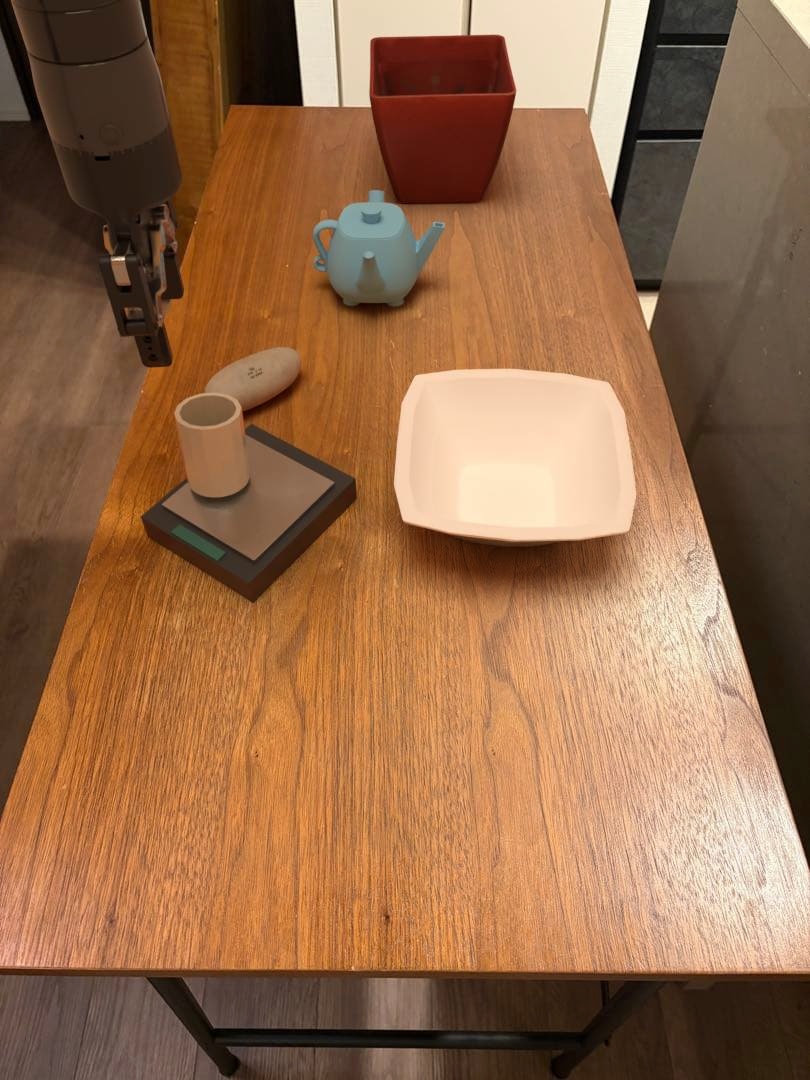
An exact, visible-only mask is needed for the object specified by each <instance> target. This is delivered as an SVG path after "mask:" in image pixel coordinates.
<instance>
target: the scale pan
mask: <svg viewBox="0 0 810 1080" xmlns="http://www.w3.org/2000/svg"><path fill="white" fill-rule="evenodd" d="M245 438H246V446H247V453H248V461H249V469H250V471H249V474H250V478H249V481H248V483H247V484H246V486H245V487H244V488H243V489H241V490H240V491H238V492H236V493H234V494H232V495H229V496H225V497H205V496H202V495H199V494H197V493H195V492H194V491H193V490H192V489H191V488H190V487H189V484H188V482H187V483H186V484H185V485H184V486H183V487H181V488H180V489H179V490H178V491H177V492H175V493H174V494H173V495H172V496H171V497H170V498H168V499H167V500H166V501H165V502H164V503H162V508H163V509H165V510H167V511H168V512H170V513H172V514H173V515H175V516H176V517H178V518H180V519H181V520H183V521H185V522H186V523H188V524H190V525H191V526H193V527H195V528H196V529H198V530H200V531H201V532H203V533H205V534H206V535H208V536H209V537H211V538H213V539H214V540H216V541H218V542H219V543H221V544H223V545H224V546H226V547H228V548H229V549H231V550H233V551H234V552H236V553H238V554H239V555H241V556H242V557H244V558H246V559H247V560H249V561H251V562H252V563H254V564H255V563H256V562H258V561H259V560H260V559H261V558H262V557H263V556H264V555H265V554H266V553H267V552H268V551H269V550H270V549H271V548H272V547H273V546H274V545H275V544H276V543H277V542H278V541H279V540H280V539H281V538H282V537H283V536H284V535H285V534H286V533H287V532H288V531H289V530H290V529H291V528H293V527H294V526H295V525H296V524H297V523H298V522H299V521H300V520H301V519H302V518H303V517H304V516H305V515H306V514H307V513H308V512H309V511H310V510H311V509H312V508H313V507H314V506H315V505H316V504H317V503H318V502H319V501H320V500H321V499H322V498H323V497H324V496H325V495H326V494H328V493H329V492H330V491H331V490H332V489H333V488H334V487H335V482H333V481H332V480H330V479H328V478H326V477H324V476H322V475H320V474H318V473H317V472H315V471H313V470H311V469H309V468H307V467H305V466H304V465H302V464H300V463H298V462H296V461H294V460H292V459H290V458H289V457H287V456H285V455H283V454H281V453H279V452H277V451H275V450H274V449H272V448H270V447H268V446H266V445H264V444H262V443H260V442H259V441H257V440H255V439H253V438H251V437H249V436H247V435H245Z"/></svg>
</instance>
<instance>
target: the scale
mask: <svg viewBox="0 0 810 1080" xmlns="http://www.w3.org/2000/svg"><path fill="white" fill-rule="evenodd" d="M244 430H245V435H247V436H249V437H251V438H253V439H255V440H257V441H259V442H260V443H262V444H264V445H266V446H268V447H270V448H272V449H274V450H275V451H277V452H279V453H281V454H283V455H285V456H287V457H289V458H290V459H292V460H294V461H296V462H298V463H300V464H302V465H304V466H305V467H307V468H309V469H311V470H313V471H315V472H317V473H318V474H320V475H322V476H324V477H326V478H328V479H330V480H332V481H333V482H335V487H334V488H333V489H332V490H331V491H330V492H329V493H328V494H326V495H325V496H324V497H323V498H322V499H321V500H320V501H319V502H318V503H317V504H316V505H315V506H314V507H313V508H312V509H311V510H310V511H309V512H308V513H307V514H306V515H305V516H304V517H303V518H302V519H301V520H300V521H299V522H298V523H297V524H296V525H295V526H294V527H293V528H291V529H290V530H289V531H288V532H287V533H286V534H285V535H284V536H283V537H282V538H281V539H280V540H279V541H278V542H277V543H276V544H275V545H274V546H273V547H272V548H271V549H270V550H269V551H268V552H267V553H266V554H265V555H264V556H263V557H262V558H261V559H260V560H259V561H258V562H256V563H255V564H254V563H252V562H251V561H249V560H247V559H246V558H244V557H242V556H241V555H239V554H238V553H236V552H234V551H233V550H231V549H229V548H228V547H226V546H224V545H223V544H221V543H219V542H218V541H216V540H214V539H213V538H211V537H209V536H208V535H206V534H205V533H203V532H201V531H200V530H198V529H196V528H195V527H193V526H191V525H190V524H188V523H186V522H185V521H183V520H181V519H180V518H178V517H176V516H175V515H173V514H172V513H170V512H168V511H167V510H165V509H163V508H162V503H164V502H165V501H166V500H167V499H168V498H170V497H171V496H172V495H173V494H174V493H175V492H177V491H178V490H179V489H180V488H181V487H183V486H184V485H185V484H186V483H187V482H188V480H187V477H186V478H184V480H182V481H181V482H180V483H179V484H178V485H176V486H175V487H174V488H172V490H170V491H169V492H168V493H167V494H165V495H164V496H163V497H162V498H161V499H160V500H158V501H157V502H156V503H154V504H153V506H151V507H150V508H149V509H148V510H147V511H145V512H144V513H143V514H142V515H141V516H140V519H141V522H142V525H143V527H144V530H145V532H146V535H147V537H148V538H150V539H152V540H153V541H154V542H156V543H157V544H159V545H161V546H163V547H164V548H166V549H167V550H169V551H170V552H172V553H174V554H175V555H177V556H178V557H180V558H182V559H183V560H184V561H186V562H188V563H190V564H191V565H193V566H194V567H196V568H198V570H200V571H202V572H204V573H206V574H207V575H209V576H210V577H212V578H213V579H215V580H216V581H218V582H220V583H221V584H223V585H225V586H226V587H228V588H230V589H231V590H233V591H234V592H236V593H237V594H239V595H240V596H242V597H244V598H245V599H246V600H248V601H250V602H252V603H255V601H257V599H258V598H259V597H260V596H261V595H263V593H264V592H266V590H267V589H268V588H269V587H270V586H271V585H272V584H273V583H275V581H276V580H277V579H278V578H279V577H280V576H281V575H283V573H284V572H285V571H286V570H287V569H288V568H289V567H290V566H291V565H292V564H294V562H295V561H296V560H297V559H299V557H300V556H301V555H302V554H303V553H304V552H305V551H306V550H307V549H308V548H309V547H310V546H311V545H313V543H314V542H316V540H318V538H319V537H320V536H321V535H322V534H323V533H324V532H325V531H326V530H327V529H328V528H329V527H330V526H331V525H332V524H333V523H334V522H335V521H336V520H337V519H338V518H339V517H340V516H341V515H342V514H343V513H344V512H345V511H346V510H347V509H348V508H349V507H350V506H351V505H353V503H355V501H356V500H357V498H358V495H357V494H358V493H357V481H356V477H354V476H352V475H350V474H348V473H346V472H345V471H342V470H340V469H339V468H336V467H335V466H333V465H331V464H329V463H327V462H325V461H324V460H321V459H320V458H317V457H315V456H313V455H312V454H311V453H308V452H307V451H304V450H302V449H300V448H299V447H297V446H295V445H293V444H291V443H290V442H289V443H288V442H287V441H285V440H284V439H281V438H279V437H277V436H275V435H273V434H272V433H270V432H268V431H266V430H264V429H263V428H261V427H258V426H256V425H255V424H253V423H249V425H248V426H246V427H244Z"/></svg>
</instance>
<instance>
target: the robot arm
mask: <svg viewBox="0 0 810 1080" xmlns="http://www.w3.org/2000/svg"><path fill="white" fill-rule="evenodd" d="M10 2H11V5H12V8H13V11H14V14H15V18H16V21H17V25H18V27H19V30H20V33H21V37H22V40H23V42H24V46H25V48H26V52H27V56H28V59H29V64H30V70H31V75H32V80H33V86H34V89H35V94H36V97H37V100H38V103H39V106H40V110H41V112H42V115H43V119H44V122H45V125H46V128H47V131H48V134H49V137H50V140H51V144H52V147H53V149H54V152H55V155H56V159H57V161H58V165H59V167H60V170H61V173H62V177H63V180H64V183H65V186H66V188H67V192H68V195H69V197H70V198H71V199H72V201H73V202H74V203H75V204H76V205H78V206H79V207H81V208H82V209H84V210H86V211H88V212H91V213H94V214H96V215H98V216H100V217H101V218H103V219H104V220H105V221H106V225H103V227H102V233H103V243H104V244H103V245H104V248H105V250H107V251H108V253H109V254H108V253H107V254H106V253H105V254H99V256H98V268H99V269H100V273H101V277H102V279H103V283H104V287H105V290H106V293H107V297H108V300H109V304H110V307H111V310H112V314H113V317H114V321H115V323H116V327H117V331H118V333H119V336H120V338H127V337H128V338H129V337H133V338H134V341H135V344H136V347H137V351H138V353H139V357H140V361H141V363H142V365H143V366H144V367H146V368H169V367H170V366H172V364H173V359H174V355H173V351H172V350H173V349H172V347H171V343H170V339H169V336H168V332H167V329H166V324H165V316H164V314H163V305H162V301H163V300H164V301H166V300H180V299H182V298H183V297H184V293H185V287H184V283H183V278H182V275H181V270H180V269H181V268H180V266H179V261H178V258H177V252H178V248H179V243H178V241H177V238H176V233H178V229H179V221H178V220H177V216H176V212H175V208H174V205H173V200H172V198H173V197H174V196H175V195H176V194H177V192H178V191H179V190H180V188H181V185H182V180H183V174H182V170H181V169H182V168H181V165H180V164H181V163H180V159H179V155H178V150H177V146H176V141H175V136H174V131H173V128H172V122H171V118H170V113H169V109H168V105H167V104H168V103H167V100H166V99H167V98H166V95H165V89H164V86H163V80H162V77H161V72H160V70H159V67H158V64H157V61H156V58H155V55H154V52H153V50H152V49H153V48H152V46H151V42H150V40H149V35H148V33H147V32H148V30H147V26H146V22H145V17H144V13H143V8H142V2H141V0H10ZM146 274H149V275H150V280H147V277H146ZM135 308H139V309H138V310H137V309H136V310H135Z"/></svg>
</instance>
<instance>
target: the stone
mask: <svg viewBox="0 0 810 1080" xmlns="http://www.w3.org/2000/svg"><path fill="white" fill-rule="evenodd" d="M301 367H302V357H301V354H300V353H299V352H298V351H297V350H296V349H293V348H291V347H287V346H277V347H272V348H267V349H264V350H261V351H258V352H255V353H252V354H249V355H247V356H245V357H241V358H240V359H238V360H235V361H233V362H232V363H230V364H228V365H226V366H224V367H222V368H221V369H220V370H219V371H217V372H216V373H215V374H214V375H213V376H212V377H210V379H209V381H207V384H206V386H205V388H204V393H212V392H216V393H222V394H227V395H230V396H231V397H233V398H235V399H237V400H238V402H239V404H240V405H241V407H242V413H243V412H245V411H248V410H251V409H254V408H255V407H258V406H260V405H262V404H264V403H266V402H268V401H270V400H271V399H273V398H275V397H277V395H280V394H281V393H282V392H283V391H285V390H286V389H288V388H289V387H290V386H291V385H292V384H293V383H294V382H295V380H296V379H297V378H298V376H299V373H300V371H301Z"/></svg>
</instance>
